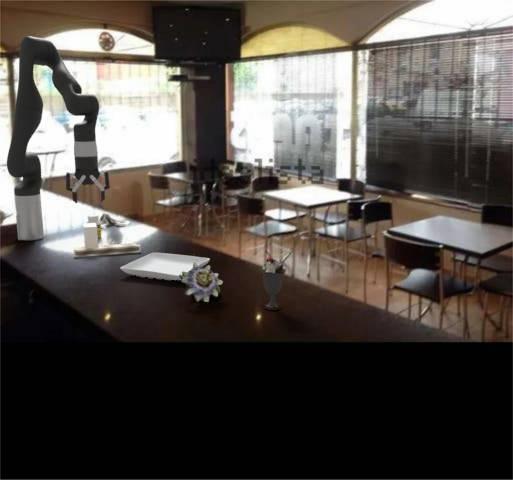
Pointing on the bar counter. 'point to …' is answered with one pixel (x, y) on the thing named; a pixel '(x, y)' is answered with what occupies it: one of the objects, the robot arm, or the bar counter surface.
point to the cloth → (111, 221)
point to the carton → (90, 235)
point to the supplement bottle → (95, 220)
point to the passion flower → (201, 282)
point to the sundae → (272, 278)
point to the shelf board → (107, 250)
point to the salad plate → (163, 265)
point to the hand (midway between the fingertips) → (89, 202)
